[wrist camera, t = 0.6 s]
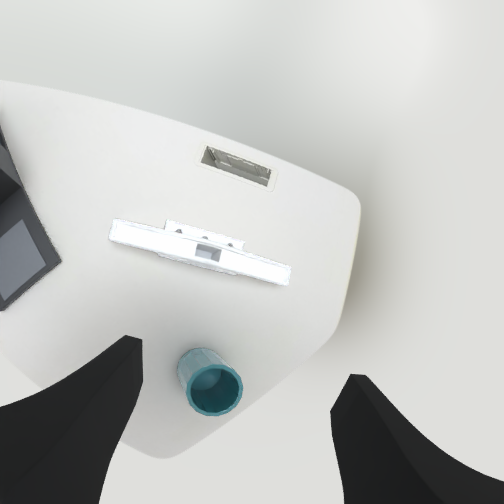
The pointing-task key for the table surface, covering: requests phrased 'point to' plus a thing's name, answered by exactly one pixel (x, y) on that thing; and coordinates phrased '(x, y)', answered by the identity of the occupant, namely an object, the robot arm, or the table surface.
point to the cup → (209, 382)
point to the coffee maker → (19, 236)
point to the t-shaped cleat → (199, 249)
